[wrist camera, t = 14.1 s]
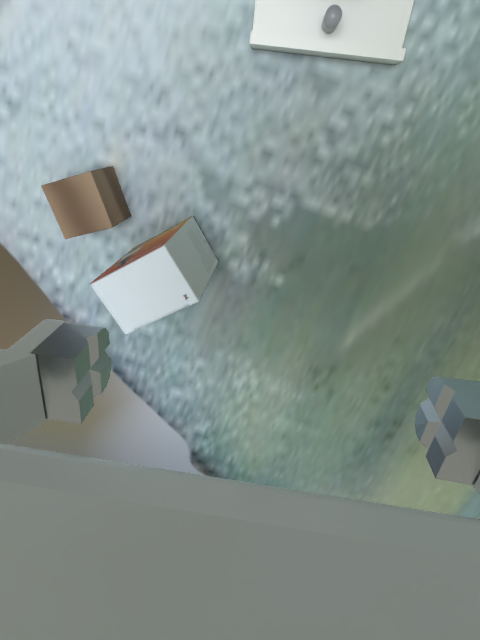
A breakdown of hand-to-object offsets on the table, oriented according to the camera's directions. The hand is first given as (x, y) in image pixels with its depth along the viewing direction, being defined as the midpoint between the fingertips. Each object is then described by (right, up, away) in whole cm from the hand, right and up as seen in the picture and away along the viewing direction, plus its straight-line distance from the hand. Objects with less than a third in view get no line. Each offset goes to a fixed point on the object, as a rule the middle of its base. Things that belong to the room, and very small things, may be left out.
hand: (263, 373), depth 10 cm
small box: (-8, +8, +32) cm, 34 cm away
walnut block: (-15, +14, +30) cm, 36 cm away
